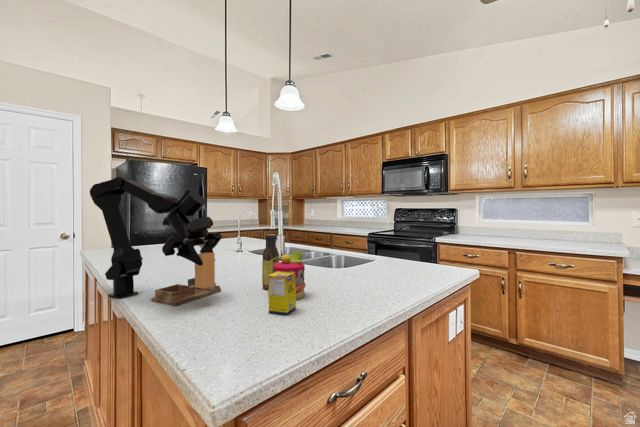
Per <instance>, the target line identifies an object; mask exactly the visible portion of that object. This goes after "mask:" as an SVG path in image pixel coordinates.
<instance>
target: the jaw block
mask: <svg viewBox="0 0 640 427" xmlns="http://www.w3.org/2000/svg"><path fill="white" fill-rule="evenodd" d="M197 254H198V255H199V257H200V258H201V260H202V262H203V264H202V266H199V265H198V264H196V263H194V278H195V287H197V288H203V289H204V288H207V287H211V286H214V285H215V283H216V280H215V279H216V276H215V275H216V273H215V271H216V269H215V268H216V267H215V266H216V265H215V264H216V263H215V262H216V259H215V258H216V257H215V255H216V254H215V252H213V253H208V252H205V253H200V252H199V253H197Z"/></svg>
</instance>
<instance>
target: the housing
mask: <svg viewBox="0 0 640 427" xmlns="http://www.w3.org/2000/svg"><path fill="white" fill-rule="evenodd" d="M219 292H222V288H221V286H220V285H217V284H216V289H213V290H212V288H204V289H203V288H197V287H195V277H191V278H189V279H187V285H185V284H180V283H176V284H174V285H170V286H165V287H162V288H158V289H154V296H153V297H151V298H150V300H151V302H152V303H156V304H162V305H168V306H171V307H179V306H180V305H183V304H186V303H189V302H193V301H195V300H199V299H202V298H205V297H208V296H211V295H214V294H216V293H219Z"/></svg>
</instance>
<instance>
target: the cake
mask: <svg viewBox="0 0 640 427" xmlns="http://www.w3.org/2000/svg"><path fill="white" fill-rule="evenodd" d="M303 255H304V254H303V251H302V252H301V251H298V250H294V251H292V253H291V255H290V254H283V255H282V257H281V261H279V263H276V264H275V265H274V273H275V272H277V271H281V272H295V292H296V301H299V300H302V299H303V298H304V297H305V288H306V282H305V271H306V270H305V269H306V268H305V266H306V265H305V264H304V263H303V260H302V259H301V258H302V257H303Z"/></svg>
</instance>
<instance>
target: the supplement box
mask: <svg viewBox="0 0 640 427" xmlns="http://www.w3.org/2000/svg"><path fill="white" fill-rule="evenodd" d="M267 291H268V292H267V293H268V294H267V295H268V314H274V315H275V314H276V315H283V316H289V315H290V314H291V313H292V312H294V311H295V310H296V306H297V305H296V303H297V302H296V301H297V300H296V292H295V272H281V271H277V272H275V273H272V274H270V275H268V289H267Z"/></svg>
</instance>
